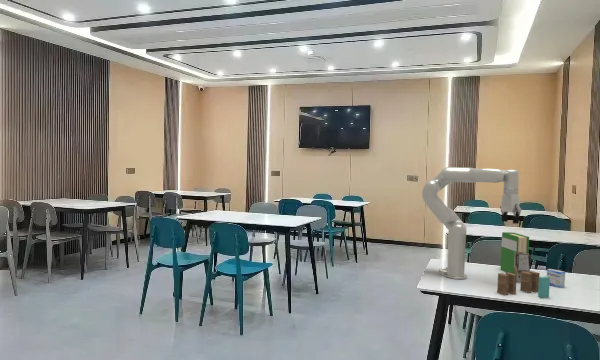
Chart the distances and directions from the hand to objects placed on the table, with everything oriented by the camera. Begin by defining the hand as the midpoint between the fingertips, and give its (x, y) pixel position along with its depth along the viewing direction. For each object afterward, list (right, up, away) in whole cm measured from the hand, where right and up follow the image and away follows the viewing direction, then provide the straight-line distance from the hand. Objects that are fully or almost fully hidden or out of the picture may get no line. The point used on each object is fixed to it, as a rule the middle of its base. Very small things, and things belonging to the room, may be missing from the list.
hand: (510, 222), depth 246 cm
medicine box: (+24, -35, -2) cm, 43 cm away
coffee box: (+9, -34, +5) cm, 36 cm away
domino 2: (-10, -34, -20) cm, 41 cm away
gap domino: (+4, -35, -26) cm, 43 cm away
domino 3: (0, -34, -17) cm, 38 cm away
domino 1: (-14, -34, -22) cm, 43 cm away
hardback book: (+14, -34, +26) cm, 45 cm away
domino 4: (+5, -35, -15) cm, 38 cm away
